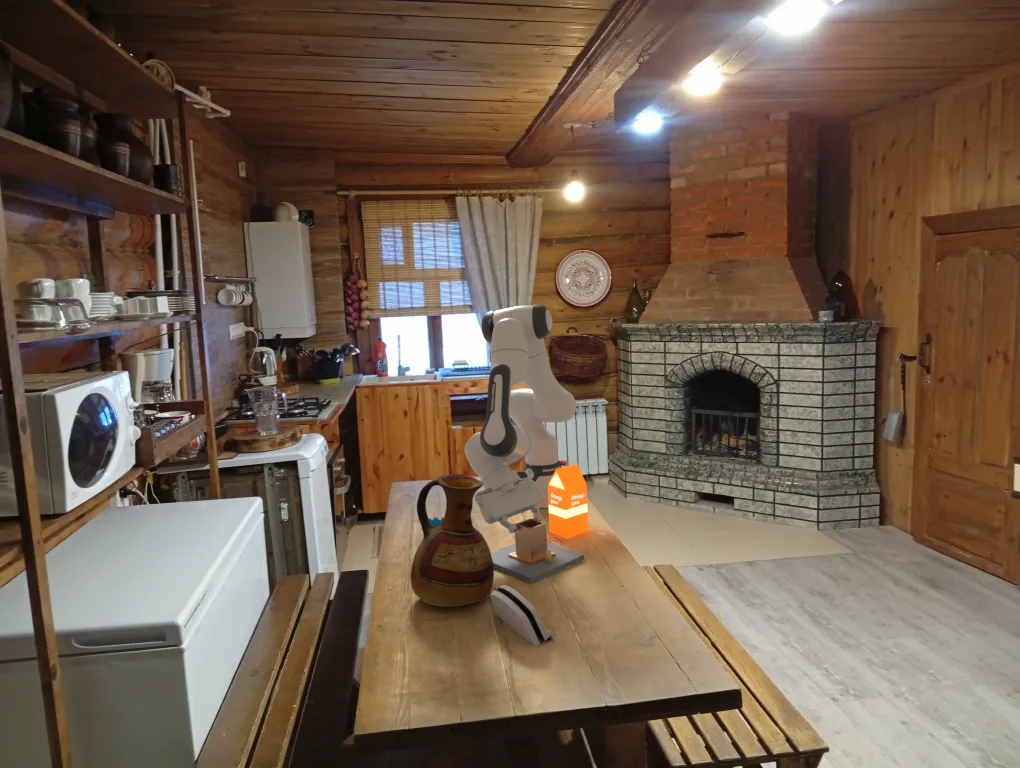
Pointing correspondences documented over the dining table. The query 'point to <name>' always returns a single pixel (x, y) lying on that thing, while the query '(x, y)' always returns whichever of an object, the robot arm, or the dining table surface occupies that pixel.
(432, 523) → the gear
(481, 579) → the ceramic pitcher
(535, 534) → the copper sleeve
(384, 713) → the dining table surface
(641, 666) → the dining table surface
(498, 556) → the base plate
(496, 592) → the half-moon napkin holder
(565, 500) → the orange juice
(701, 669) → the dining table surface
